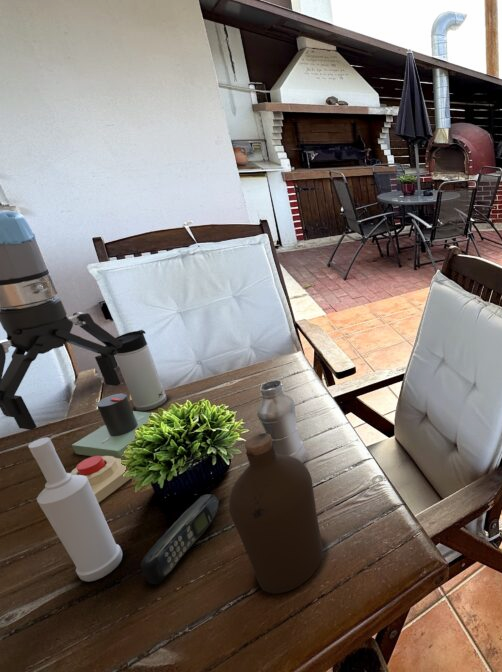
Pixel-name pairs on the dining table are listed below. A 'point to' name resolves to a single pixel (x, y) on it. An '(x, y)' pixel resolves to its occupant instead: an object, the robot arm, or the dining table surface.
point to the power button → (90, 465)
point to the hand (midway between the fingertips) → (74, 404)
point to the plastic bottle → (280, 420)
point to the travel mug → (139, 371)
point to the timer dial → (117, 414)
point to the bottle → (75, 515)
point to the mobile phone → (179, 539)
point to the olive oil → (276, 517)
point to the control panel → (108, 440)
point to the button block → (106, 477)
